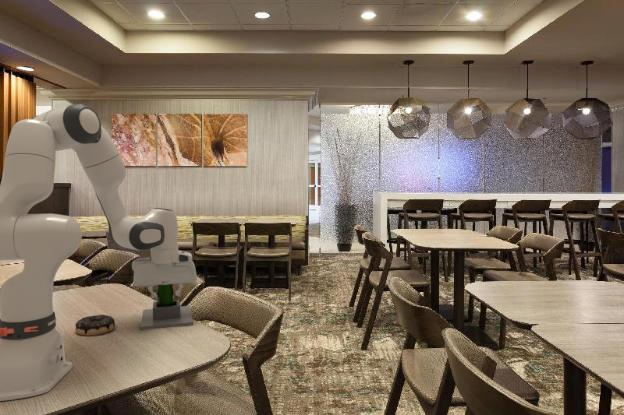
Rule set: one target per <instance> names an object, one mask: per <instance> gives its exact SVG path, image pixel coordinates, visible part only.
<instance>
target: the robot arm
mask: <svg viewBox="0 0 624 415" xmlns="http://www.w3.org/2000/svg"><path fill="white" fill-rule="evenodd" d="M71 149H72V151H74V152H75V153H76V156H77V158H78V161H79V163H80V165H81V167H82V169H83V170H84V172H85V174H86V176H87V178H88V180H89V182H90V184H91V185H92V188H93V190H94V193H95V196H96V198H97V201H98V202H99V206H100V207H101V210H102V211H103V214H104V216H105V218H106V221H107V226H108V235H109V239H110V241H111V243H112V244H113V245H114V246H115V247H117V248H119V249H128V250H129V249H130V250H133V251H135V250H136V251H145V250H146V251H147V250H149V249H150V257H148V256H147V257H136V259H134V260H133V261H132V262H131V270H132V271H133V282H132V284H133V285H134V286H135V287H147V289H148V291H149V293H150V294H151V300H155V299H157V291H156V292H154V290H153V288H154V286H157V285H160V284H161V283H162V282H163V281H169V283H170V284H174V285H178V287H179V288H178V290H175V298H180V297H181V292H182V290H183V288H184V284H194V283H196V282H197V280H198V278H197V270H196V266H195V263H194V261H193V255H192V253H191V252H189V251H184V250H179V243H178V236H179V229H178V228H179V225H178V218H177V215H176V212H175V211H174V210H172V209H170V208H160V207H153V208H152V209H151V210H150V211H149V212H147V213H146V214H144V215H143V216H142V217H139V218H137V219H136V218H132V216H130V215H129V214H128V213H127V211H126V209H125V206H124V204H123V201H122V198H121V196H120V194H119V187H120V186H121V184H122V183H123V182H124V180H125V178H126V175H127V169H126V166H125V162H124V161H123V158H122V156H121V154H120V152H119V150H118V148H117V146H116V144H115V142H114V141H113V139H112V137H111V136H110V135H109V134H108V132H107V131H106V130H105V128H104V127H103V126H102V123H101V118H99V116H98V114H97V112H95V111H94V109H93V108H91V107H90V106H89V105H86V104H81V103H79V104H78V103H77V104H76V103H75V104H69V105H68V106H66V107H64V106H63V107H60V108H59V107H58V108H53V109H50V110H48V111H45V112H42V113H41V114H39V115H38V114H37V115H34V116H32V117H31V118H26V119H25V118H24V119H21V120H18V121H17V122H16V123H15V124H13V126H12V128H11V131H10V133H9V136H8V141H7V143H6V149H5V154H4V164H3V168H2V169H3V170H2V177H1V180H0V261H18V260H19V261H21V260H22V261H24V262H23V263H24V264H23V265H24V266H23V269H22V271H21V272H19V273H16V274H15V275H12V276H11V277H9V278H8V279H6V280H5V281H4V282H3V283H2V284H1V286H0V402H1V401H4V402H5V401H11V400H18V399H25V398H30V397H34V396H38V395H42V394H46V393H48V392H50V390H52V389H53V388H54V386H56V384H58V383H59V381H61V380H62V379H63V378H64V377H65V376H66V375H67V374H68V372H70V371H72V369H73V366H74V365H73V362H71V361H66V353H65V343H64V336H63V334H62V333H60V332H59V331H58V330H57V329H56V326H57V325H56V324H57V323H56V322H57V317H56V312H55V311H54V301H53V300H54V299H53V298H54V293H53V292H54V283H55V282H54V281H55V278H56V275H57V272H58V271H59V269H60V267H61V266H62V264H63V263H64V262H65V261H66V260H67V259H68V258H69V257H71V256H72V255H73V254H75V252H77V250H78V249H79V247H80V245H81V242H82V238H83V234H82V229H81V226H80V224H79V222H78V221H77V220H76V219H75V218H74V217H73V216H70V215H63V214H59V213H29V212H30V210H31V209H32V208H33V207H34V206H35V205H37V204H38V203H41V202H43V201H44V200H47V198H49V197H50V196H51V195H52V193H53V190H54V186H55V185H54V182H55V173H56V172H55V171H56V155H57V154H56V153H57V152H58V151H65V150H71Z"/></svg>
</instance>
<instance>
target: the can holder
mask: <svg viewBox="0 0 624 415" xmlns="http://www.w3.org/2000/svg"><path fill="white" fill-rule="evenodd" d="M180 300H181V299H174V306H165V307H158V300H155V301H153V302H152V308H146V309H143V310H142V314H141V318H140V325H139V330H140V331H144V330H155V329H166V328H176V327H185V326H186V327H187V326H193V325H194V320H193V313H192V308H191V305H183V306H181V302H180Z"/></svg>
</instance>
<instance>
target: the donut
mask: <svg viewBox="0 0 624 415" xmlns="http://www.w3.org/2000/svg"><path fill="white" fill-rule="evenodd" d="M115 327H116V321H115V319H114V318H113V317H112V316H111V315H108V314H96V315H89V316H85V317H82V318H80V319H78V320H77V321H76V322H75V329H74V331H75V332H76V333H77V334H78V335H82V336H99V335H103V334H106V333H109V332H111V331H113V330H114V329H115Z"/></svg>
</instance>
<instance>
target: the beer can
mask: <svg viewBox="0 0 624 415" xmlns="http://www.w3.org/2000/svg"><path fill="white" fill-rule="evenodd" d="M156 296H157V298H156V299H157V300H156V301H158V307H165V306H174V300H175V284H170V283H169V281H163V282H162V283H161V284H160V285H156Z"/></svg>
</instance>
